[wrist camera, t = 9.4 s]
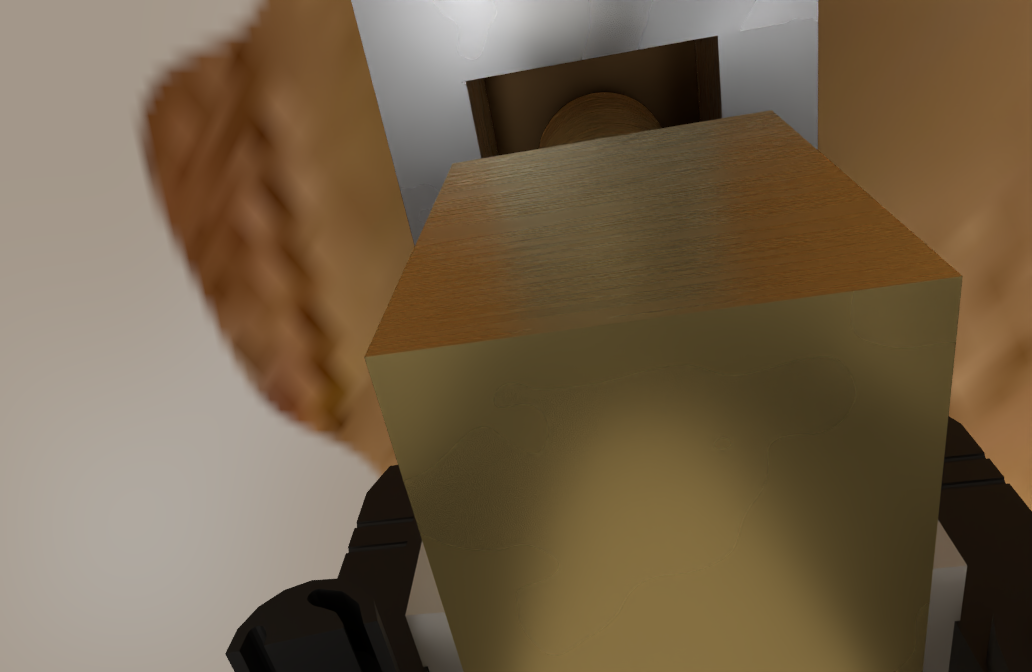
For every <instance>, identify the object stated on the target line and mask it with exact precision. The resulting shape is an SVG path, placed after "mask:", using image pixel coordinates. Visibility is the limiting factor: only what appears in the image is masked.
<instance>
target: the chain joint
mask: <svg viewBox="0 0 1032 672" xmlns="http://www.w3.org/2000/svg"><path fill="white" fill-rule="evenodd" d="M351 2H352V6H353V9H354V13H355V17H356V21H357V25H358V29H359V33H360V36H361V40H362V44H363V48H364V52H365V56H366V60H367V64H368V67H369V71H370V75H371V79H372V83H373V87H374V91H375V94H376V98H377V102H378V106H379V110H380V114H381V118H382V121H383V125H384V129H385V133H386V137H387V141H388V145H389V148H390V152H391V156H392V160H393V164H394V168H395V172H396V175H397V179H398V183H399V187H400V191H401V195H402V199H403V202H404V206H405V210H406V214H407V218H408V222H409V226H410V229H411V233H412V237H413V241H414V245H416V243H417V241H418V238H419V236H420V234H421V232H422V230H423V227H424V225H425V223H426V221H427V219H428V216H429V214H430V212H431V210H432V208H433V205H434V203H435V201H436V199H437V197H438V194H439V192H440V190H441V188H442V186H443V183H444V181H445V179H446V177H447V175H448V172H449V170H450V168H451V166H452V164H453V163H458V162H464V161H470V160H476V159H482V158H488V157H494V156H499V154H498V149H497V144H496V139H495V133H494V128H493V123H492V118H491V113H490V107H489V102H488V97H487V92H486V87H485V82H484V78H485V77H491V76H496V75H502V74H507V73H513V72H518V71H524V70H529V69H535V68H540V67H546V66H551V65H557V64H562V63H568V62H573V61H579V60H584V59H590V58H595V57H601V56H606V55H612V54H618V53H623V52H629V51H634V50H640V49H645V48H651V47H656V46H662V45H667V44H673V43H678V42H684V41H689V40H694V42H695V57H696V72H697V86H698V101H699V116H700V122H703V121H709V120H715V119H721V118H727V117H733V116H739V115H745V114H751V113H757V112H763V111H769V110H772V111H773V112H774V113H776V114H777V115H778V116H779V117H780V118H781V119H782V120H784V121H785V122H786V123H787V124H788V125H789V126H791V127H792V128H793V129H794V130H795V131H796V132H797V133H799V134H800V135H801V136H802V137H803V138H804V139H805V140H807V141H808V142H809V143H810V144H811V145H812V146H814V147H815V148H816V149H817V150H818V0H351Z"/></svg>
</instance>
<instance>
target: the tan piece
mask: <svg viewBox="0 0 1032 672" xmlns="http://www.w3.org/2000/svg"><path fill="white" fill-rule="evenodd" d="M961 286H962V275H961V274H959V273H958V272H957V271H956V270H955V269H954V268H953V267H951V266H950V265H949V264H948V263H947V262H946V261H944V260H943V259H942V258H941V257H940V256H939V255H938V254H936V253H935V252H934V251H933V250H932V249H931V248H930V247H928V246H927V245H926V244H925V243H924V242H923V241H922V240H920V239H919V238H918V237H917V236H916V235H915V234H913V233H912V232H911V231H910V230H909V229H908V228H907V227H905V226H904V225H903V224H902V223H901V222H900V221H899V220H897V219H896V218H895V217H894V216H893V215H892V214H890V213H889V212H888V211H887V210H886V209H885V208H884V207H882V206H881V205H880V204H879V203H878V202H877V201H876V200H874V199H873V198H872V197H871V196H870V195H869V194H868V193H866V192H865V191H864V190H863V189H862V188H861V187H859V186H858V185H857V184H856V183H855V182H854V181H853V180H851V179H850V178H849V177H848V176H847V175H846V174H845V173H843V172H842V171H841V170H840V169H839V168H838V167H836V166H835V165H834V164H833V163H832V162H831V161H830V160H828V159H827V158H826V157H825V156H824V155H823V154H822V153H820V152H819V151H818V150H817V149H816V148H815V147H814V146H812V145H811V144H810V143H809V142H808V141H807V140H805V139H804V138H803V137H802V136H801V135H800V134H799V133H797V132H796V131H795V130H794V129H793V128H792V127H791V126H789V125H788V124H787V123H786V122H785V121H784V120H782V119H781V118H780V117H779V116H778V115H777V114H776V113H774V112H773V111H772V110H769V111H763V112H757V113H751V114H745V115H739V116H733V117H727V118H721V119H715V120H709V121H703V122H697V123H691V124H685V125H679V126H673V127H667V128H661V126H660V124H659V123H658V121H657V120H656V118H655V117H654V115H653V114H652V113H651V112H650V111H649V110H648V109H647V108H646V107H645V106H643V105H642V104H641V103H639V102H638V101H636V100H634V99H632V98H630V97H628V96H624V95H621V94H616V93H607V92H601V93H593V94H589V95H585V96H582V97H580V98H577V99H575V100H573V101H571V102H570V103H568V104H567V105H565V106H564V107H563V108H561V109H560V110H559V111H558V112H557V113H556V114H555V115H554V117H553V118H552V119H551V120H550V122H549V123H548V125H547V127H546V128H545V130H544V133H543V135H542V138H541V141H540V145H539V149H536V150H530V151H524V152H518V153H512V154H506V155H500V156H494V157H488V158H482V159H476V160H470V161H464V162H458V163H453V164H452V166H451V168H450V170H449V172H448V175H447V177H446V179H445V181H444V183H443V186H442V188H441V190H440V192H439V194H438V197H437V199H436V201H435V203H434V205H433V208H432V210H431V212H430V214H429V216H428V219H427V221H426V223H425V225H424V227H423V230H422V232H421V234H420V236H419V238H418V241H417V243H416V245H415V247H414V249H413V252H412V254H411V256H410V258H409V260H408V263H407V265H406V267H405V269H404V271H403V274H402V276H401V278H400V280H399V282H398V285H397V287H396V289H395V291H394V293H393V296H392V298H391V300H390V302H389V304H388V307H387V309H386V311H385V313H384V315H383V318H382V320H381V322H380V324H379V326H378V329H377V331H376V333H375V335H374V337H373V339H372V342H371V344H370V346H369V348H368V350H367V353H366V355H365V360H366V364H367V367H368V370H369V373H370V376H371V380H372V383H373V386H374V389H375V392H376V395H377V399H378V402H379V405H380V408H381V411H382V414H383V418H384V421H385V424H386V427H387V430H388V434H389V437H390V440H391V443H392V446H393V449H394V453H395V456H396V459H397V462H398V465H399V468H400V472H401V475H402V478H403V481H404V484H405V488H406V491H407V494H408V497H409V500H410V503H411V507H412V510H413V513H414V516H415V519H416V522H417V526H418V529H419V532H420V535H421V538H422V542H423V545H424V548H425V551H426V554H427V557H428V561H429V564H430V567H431V570H432V573H433V576H434V580H435V583H436V586H437V589H438V592H439V595H440V599H441V602H442V605H443V608H444V611H445V615H446V618H447V621H448V624H449V627H450V630H451V634H452V637H453V640H454V643H455V646H456V649H457V653H458V656H459V659H460V662H461V665H462V669H463V672H923V663H924V653H925V643H926V634H927V624H928V614H929V604H930V594H931V584H932V574H933V564H934V554H935V544H936V534H937V524H938V514H939V504H940V494H941V484H942V474H943V465H944V455H945V445H946V435H947V425H948V415H949V405H950V395H951V385H952V375H953V365H954V355H955V345H956V335H957V325H958V315H959V305H960V296H961Z"/></svg>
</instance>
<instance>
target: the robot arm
mask: <svg viewBox="0 0 1032 672" xmlns="http://www.w3.org/2000/svg"><path fill="white" fill-rule="evenodd" d="M348 548H349V553H346V555H345V558H344V561H343V564H342V567H341V570H340V573H339V576H338V578H337V579H327V580H312V581H309V582H306V583H303V584H301V585H298V586H295V587H292V588H289V589H286V590H284V591H282V592H281V593H279V594H278V595H276V596H275V597H273V598H272V599H270V600H269V601H267V602H265V603H264V604H262V605H261V606H259V607H258V608H257V609H256V610H255V611H254V612H253V613H252V614H251V615H250V617H249V618H248V619H247V620H246V621H245V622H244V623H243V624H242V625H241V626H240V627H239V628H238V629H237V632H236V633H235V635H234V637H233V639H232V642H231V644H230V646H229V648H228V650H227V652H226V656H227V658H228V660H229V661H230V664H231V665H232V667H233V669H234V671H235V672H463V669H462V665H461V662H460V659H459V656H458V653H457V649H456V646H455V643H454V640H453V637H452V634H451V630H450V627H449V624H448V621H447V618H446V615H445V611H444V608H443V605H442V602H441V599H440V595H439V592H438V589H437V586H436V583H435V580H434V576H433V573H432V570H431V567H430V564H429V561H428V557H427V554H426V551H425V548H424V545H423V542H422V538H421V535H420V532H419V529H418V526H417V522H416V519H415V516H414V513H413V510H412V507H411V503H410V500H409V497H408V494H407V491H406V488H405V484H404V481H403V478H402V475H401V472H400V468H399V465H394V466H390V467H389V468H388V469H387V470H386V471H385V472H384V474H383V475H382V476H381V477H380V478H379V479H378V480H377V482H376V483H375V484H374V485H373V486H372V488H371V489H370V490H369V491H368V492H367V494H366V496H365V500H364V502H363V505H362V508H361V511H360V514H359V517H358V520H357V528H355V529H354V532H353V535H352V538H351V540H350V543H349V546H348ZM923 672H1032V511H1031V510H1030V509H1029V508H1028V506H1027V505H1026V504H1025V503H1024V501H1023V500H1022V499H1021V498H1020V496H1019V495H1018V494H1017V493H1016V491H1015V490H1014V489H1013V488H1012V486H1011V485H1010V484H1006V483H1005V481H1004V476H1003V475H1002V474H1001V473H1000V471H999V470H998V469H997V468H996V466H995V465H994V464H993V463H992V461H991V460H990V459H986V458H985V454H984V452H983V450H982V449H981V448H980V447H979V445H978V444H977V443H976V442H975V440H974V439H973V438H972V437H971V435H970V434H969V433H968V432H967V430H966V429H965V428H964V427H963V425H962V424H961V423H959V422H957V421H956V420H954V419H952V418H951V417H949V416H948V425H947V435H946V445H945V455H944V465H943V474H942V484H941V494H940V504H939V514H938V524H937V534H936V544H935V554H934V564H933V574H932V584H931V594H930V604H929V614H928V624H927V634H926V643H925V653H924V663H923Z"/></svg>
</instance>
